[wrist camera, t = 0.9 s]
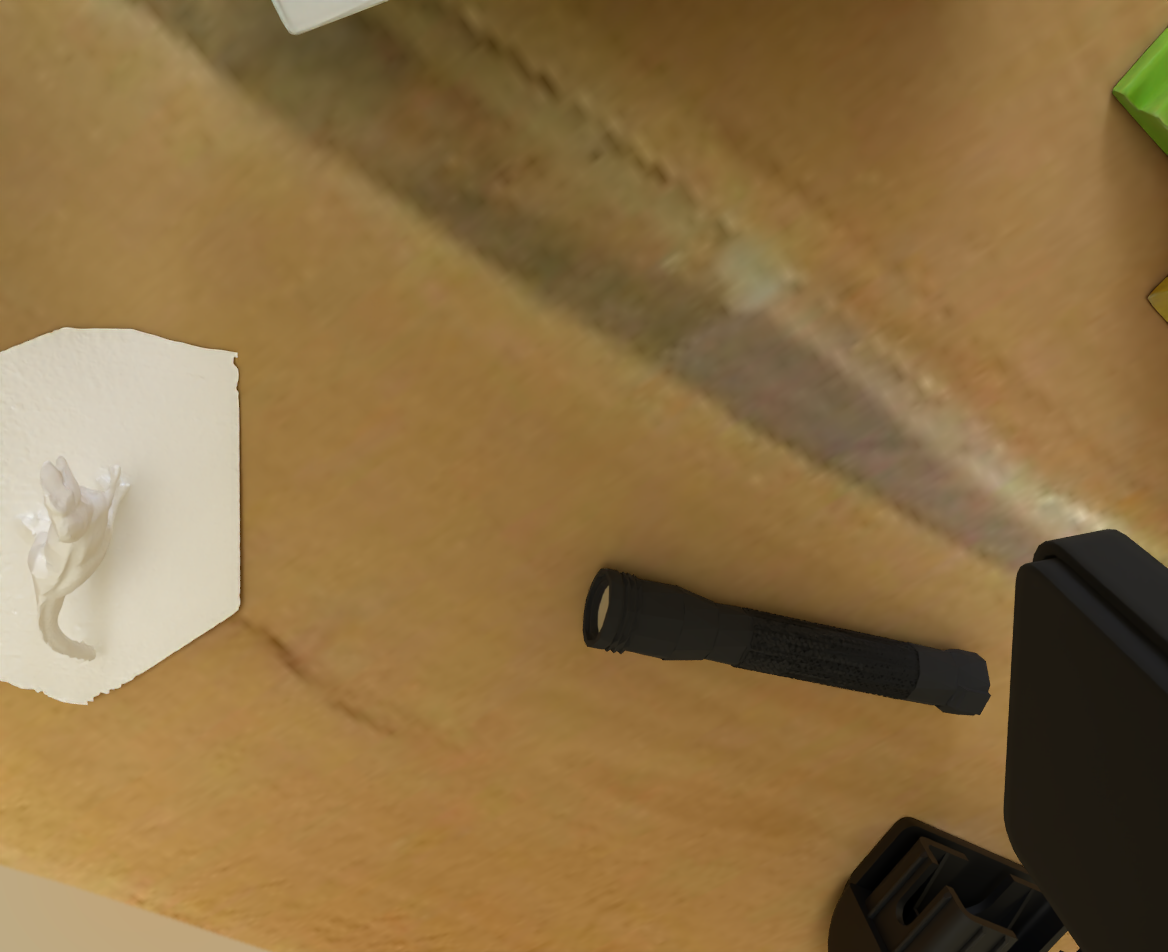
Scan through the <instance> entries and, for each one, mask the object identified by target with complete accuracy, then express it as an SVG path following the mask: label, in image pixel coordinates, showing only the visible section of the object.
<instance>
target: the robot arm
mask: <svg viewBox="0 0 1168 952" xmlns="http://www.w3.org/2000/svg"><path fill="white" fill-rule="evenodd" d="M1004 821H1005V827H1006V831H1007V834H1008V837H1009V840H1010V843H1011V845H1012V847H1013V850H1014V852H1015V853H1016V855H1017V857H1018V858H1019V860H1020V862H1021V863H1022V864H1023V866H1024V867H1025V869H1026V870H1027V872H1028V873H1029V875H1030V876H1031V878H1032V879H1033V880H1034V882H1035V883H1036V885H1037V886H1038V888H1039V889H1040V891H1041V892H1042V894H1043V895H1044V897H1045V898H1046V899H1047V901H1048V902H1049V904H1050V905H1051V907H1052V908H1053V910H1054V911H1055V913H1056V914H1057V915H1058V917H1059V918H1060V920H1061V921H1062V923H1063V924H1064V926H1065V927H1066V929H1067V930H1068V931H1069V933H1070V934H1071V936H1072V937H1073V939H1074V940H1075V942H1076V943H1077V945H1078V946H1079V947H1080V949H1081V950H1082V952H1168V568H1166V567H1165V566H1164V565H1163V564H1161V563H1160V562H1159V561H1158V560H1156V559H1155V558H1154V557H1153V556H1151V555H1150V554H1149V553H1148V552H1146V551H1145V550H1144V549H1143V548H1141V547H1140V546H1139V545H1138V544H1136V543H1135V542H1134V541H1133V540H1131V539H1130V538H1129V537H1128V536H1126V535H1125V534H1123V533H1121V532H1119V531H1117V530H1111V529H1106V530H1101V531H1096V532H1091V533H1086V534H1081V535H1076V536H1071V537H1066V538H1061V539H1056V540H1050V541H1045V542H1044V543H1042V544H1041V545H1039V546H1038V548H1037V550H1036V552H1035V554H1034V558H1033V562H1032V563H1027V564H1024V565H1023V566H1021V567H1020V569H1019V571H1018V573H1017V577H1016V586H1015V605H1014V623H1013V642H1012V661H1011V680H1010V698H1009V717H1008V736H1007V755H1006V773H1005V792H1004Z"/></svg>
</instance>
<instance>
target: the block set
mask: <svg viewBox="0 0 1168 952" xmlns="http://www.w3.org/2000/svg"><path fill="white" fill-rule="evenodd" d="M1112 94H1113V95H1114V96H1115V97H1116V98H1117V99H1118V101H1119V102H1120V103H1121V104H1122V105H1123V106H1124V107H1125V109H1126V110H1127V111H1128V112H1129V113H1130V114H1131V116H1132V117H1133V118H1134V119H1135V120H1136V121H1137V122H1138V123H1139V125H1140V126H1141V127H1142V128H1143V129H1144V130H1145V131H1146V132H1147V134H1148V135H1149V136H1150V137H1151V138H1152V139H1153V140H1154V141H1155V142H1156V144H1157V145H1158V146H1159V147H1160V148H1161V149H1162V150H1163V151H1164V152H1165V153H1166V154H1167V155H1168V27H1167V28H1166V29H1165V31H1164V32H1163V33H1162V34H1161V35H1160V36H1159V37H1158V38H1157V39H1156V41H1155V42H1154V43H1153V44H1152V45H1151V46H1150V47H1149V48H1148V49H1147V50H1146V52H1145V53H1144V54H1143V55H1142V56H1141V57H1140V58H1139V60H1138V61H1137V62H1136V63H1135V64H1134V65H1133V66H1132V68H1131V69H1130V70H1129V71H1128V72H1127V73H1126V74H1125V76H1124V77H1123V78H1122V79H1121V80H1120V81H1119V82H1118V84H1117V85H1116V86H1115V87H1114V88H1113V92H1112ZM1148 300H1149V301H1150V303H1151V304H1152V306H1153V307H1154V308H1155V309H1156V310H1157V311H1158V312H1159V314H1160V315H1161V316H1162V317H1163V318H1164V319H1165V320H1166V321H1167V322H1168V276H1167V277H1166V278H1165V280H1164V281H1162V282H1161V283H1160V284H1159V285H1158V286H1157V287H1156V288H1155V289H1154V290H1153V291H1152V293H1151V294H1150V295H1149V296H1148Z"/></svg>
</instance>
